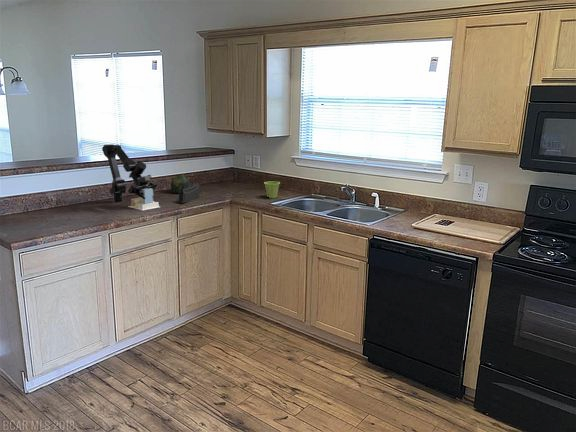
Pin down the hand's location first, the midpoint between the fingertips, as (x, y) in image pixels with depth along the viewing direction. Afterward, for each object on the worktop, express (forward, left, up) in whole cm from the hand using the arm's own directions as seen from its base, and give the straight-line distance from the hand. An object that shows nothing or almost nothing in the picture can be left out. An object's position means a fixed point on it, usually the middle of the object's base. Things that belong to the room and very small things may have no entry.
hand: (149, 198), depth 286 cm
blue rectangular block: (-1, -1, -6) cm, 7 cm away
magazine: (-25, +30, -8) cm, 40 cm away
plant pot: (-20, +89, -8) cm, 91 cm away
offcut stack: (-8, -5, -6) cm, 11 cm away
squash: (-54, +27, -8) cm, 61 cm away
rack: (-5, -3, -8) cm, 10 cm away
